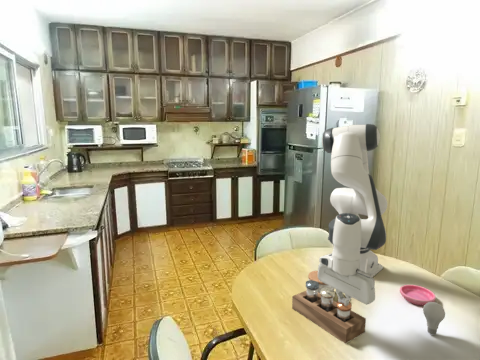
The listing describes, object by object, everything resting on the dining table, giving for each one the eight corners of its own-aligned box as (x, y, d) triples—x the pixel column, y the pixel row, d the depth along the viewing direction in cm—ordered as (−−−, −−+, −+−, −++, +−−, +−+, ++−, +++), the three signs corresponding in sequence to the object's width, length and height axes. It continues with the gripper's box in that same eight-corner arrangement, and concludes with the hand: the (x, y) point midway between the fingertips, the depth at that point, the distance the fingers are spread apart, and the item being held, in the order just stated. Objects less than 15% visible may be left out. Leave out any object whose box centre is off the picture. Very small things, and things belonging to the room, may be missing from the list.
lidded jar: (302, 292, 131) (302, 271, 129) (319, 285, 137) (319, 264, 136) (323, 304, 122) (324, 281, 121) (340, 295, 129) (341, 273, 127)
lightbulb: (416, 329, 107) (419, 298, 105) (434, 327, 108) (437, 297, 106) (429, 340, 101) (432, 309, 99) (447, 339, 102) (450, 308, 100)
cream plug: (326, 302, 115) (326, 286, 114) (336, 308, 111) (337, 292, 110) (316, 306, 112) (317, 290, 111) (327, 313, 108) (328, 296, 107)
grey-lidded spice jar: (311, 294, 121) (312, 279, 120) (321, 300, 117) (321, 284, 116) (302, 298, 118) (302, 282, 117) (312, 304, 114) (312, 288, 113)
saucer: (434, 295, 128) (434, 288, 128) (436, 311, 117) (436, 303, 117) (399, 288, 134) (400, 281, 133) (398, 303, 123) (399, 295, 123)
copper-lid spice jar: (341, 315, 110) (342, 298, 109) (353, 322, 106) (354, 304, 105) (332, 319, 107) (333, 302, 106) (344, 327, 103) (345, 309, 102)
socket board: (310, 300, 125) (311, 288, 124) (364, 332, 105) (365, 318, 105) (292, 308, 120) (292, 296, 119) (345, 343, 100) (346, 329, 99)
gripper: (381, 273, 96) (377, 315, 98) (327, 252, 113) (326, 288, 115) (368, 279, 93) (365, 322, 95) (315, 256, 109) (313, 293, 112)
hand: (343, 303), depth 105 cm, fingers closed, pressing on copper-lid spice jar
